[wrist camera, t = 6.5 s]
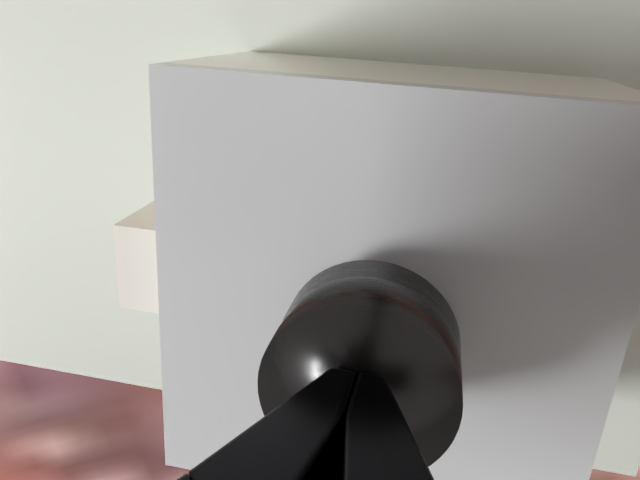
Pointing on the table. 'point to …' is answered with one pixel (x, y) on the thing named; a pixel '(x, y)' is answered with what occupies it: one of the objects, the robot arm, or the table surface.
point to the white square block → (394, 237)
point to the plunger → (373, 345)
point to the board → (136, 143)
